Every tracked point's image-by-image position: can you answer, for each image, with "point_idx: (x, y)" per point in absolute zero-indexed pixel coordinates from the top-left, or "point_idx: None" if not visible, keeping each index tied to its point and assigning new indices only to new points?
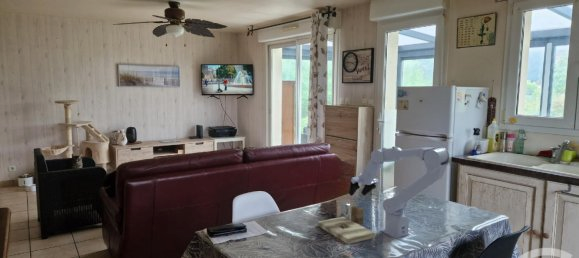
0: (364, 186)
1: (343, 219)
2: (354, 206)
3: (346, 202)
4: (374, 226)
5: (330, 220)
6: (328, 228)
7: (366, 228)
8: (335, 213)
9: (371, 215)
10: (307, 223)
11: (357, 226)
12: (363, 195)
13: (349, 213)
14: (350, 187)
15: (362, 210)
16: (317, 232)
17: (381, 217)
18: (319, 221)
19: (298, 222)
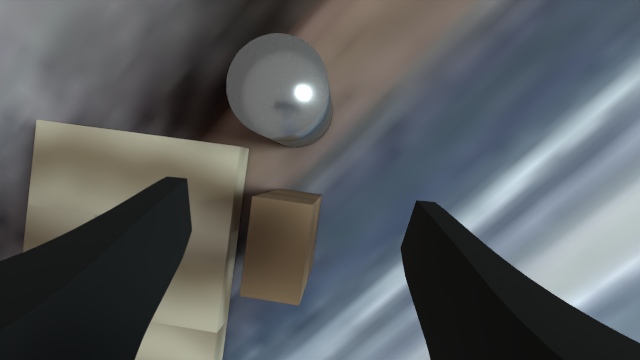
0: (472, 273)
1: (200, 189)
2: (287, 202)
3: (312, 68)
4: (347, 330)
5: (116, 152)
6: (28, 241)
7: None
8: (312, 3)
9: (496, 179)
10: (43, 50)
11: (184, 337)
12: (401, 246)
13: (303, 142)
14: (88, 232)
15: (288, 300)
16: (6, 196)
17: (523, 248)
18: (45, 125)
19: (9, 5)
